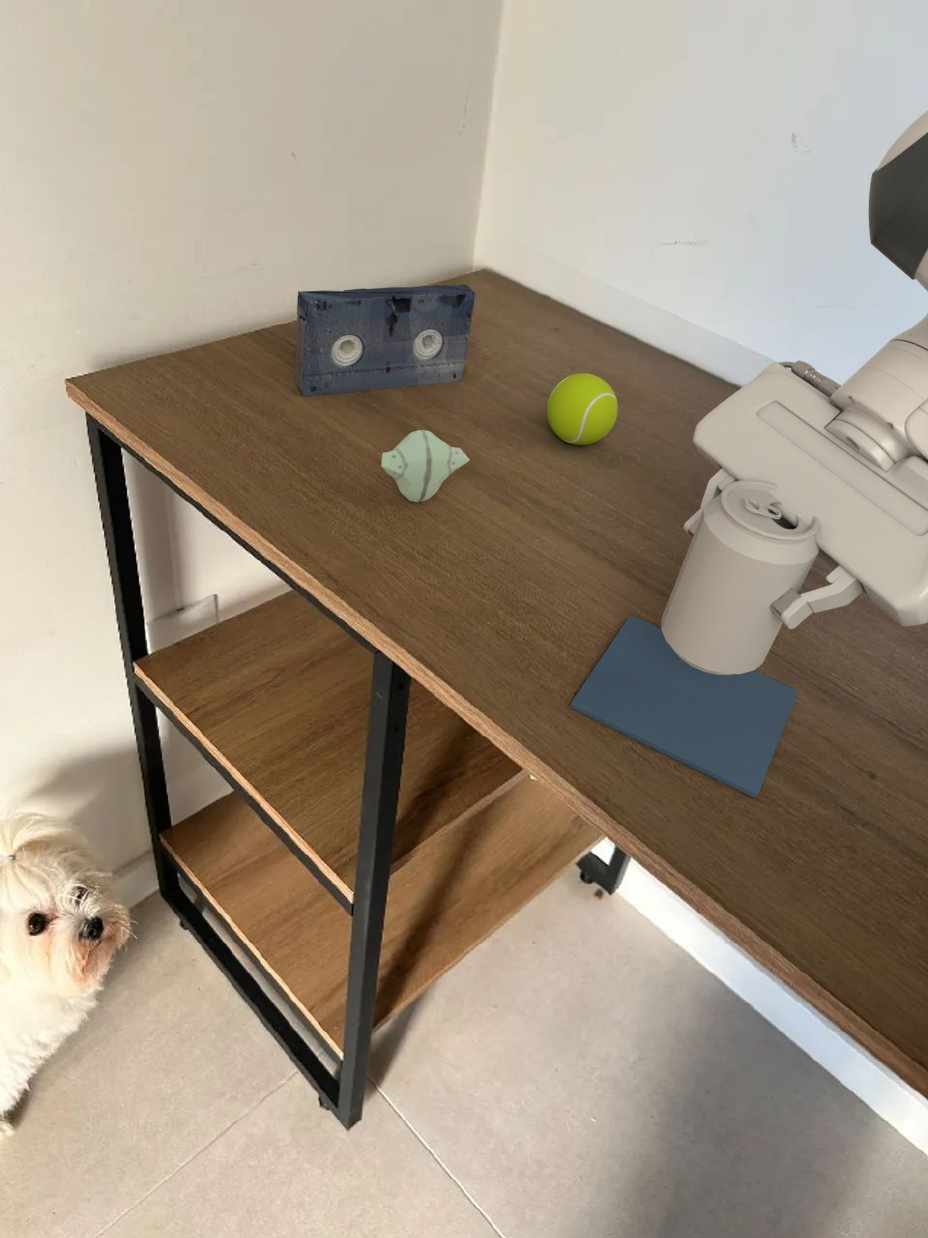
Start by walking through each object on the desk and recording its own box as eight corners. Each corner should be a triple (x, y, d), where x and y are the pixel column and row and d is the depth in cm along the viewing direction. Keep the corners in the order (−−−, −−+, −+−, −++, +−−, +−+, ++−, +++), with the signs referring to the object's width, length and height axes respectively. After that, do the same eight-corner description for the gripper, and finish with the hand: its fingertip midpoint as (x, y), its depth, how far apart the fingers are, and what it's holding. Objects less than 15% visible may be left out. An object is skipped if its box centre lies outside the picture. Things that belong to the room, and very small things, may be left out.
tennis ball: (621, 448, 96) (639, 386, 91) (574, 465, 92) (590, 401, 87) (574, 416, 99) (589, 355, 95) (527, 431, 95) (540, 368, 91)
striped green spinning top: (378, 516, 81) (385, 449, 76) (366, 489, 83) (372, 423, 79) (465, 509, 83) (476, 444, 79) (450, 483, 86) (460, 418, 82)
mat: (795, 695, 71) (798, 690, 71) (755, 799, 63) (757, 794, 62) (628, 619, 75) (630, 614, 75) (569, 707, 67) (570, 702, 66)
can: (773, 689, 63) (847, 549, 55) (665, 676, 62) (724, 533, 54) (749, 616, 68) (814, 479, 60) (650, 603, 68) (702, 463, 60)
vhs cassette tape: (454, 370, 103) (467, 282, 96) (465, 383, 101) (479, 294, 95) (292, 382, 96) (294, 288, 89) (301, 397, 94) (304, 302, 87)
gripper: (776, 322, 62) (623, 468, 65) (1035, 490, 50) (836, 663, 52) (797, 375, 67) (655, 509, 69) (1038, 540, 55) (856, 697, 57)
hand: (734, 577), depth 61 cm, fingers closed on can, 7 cm apart
